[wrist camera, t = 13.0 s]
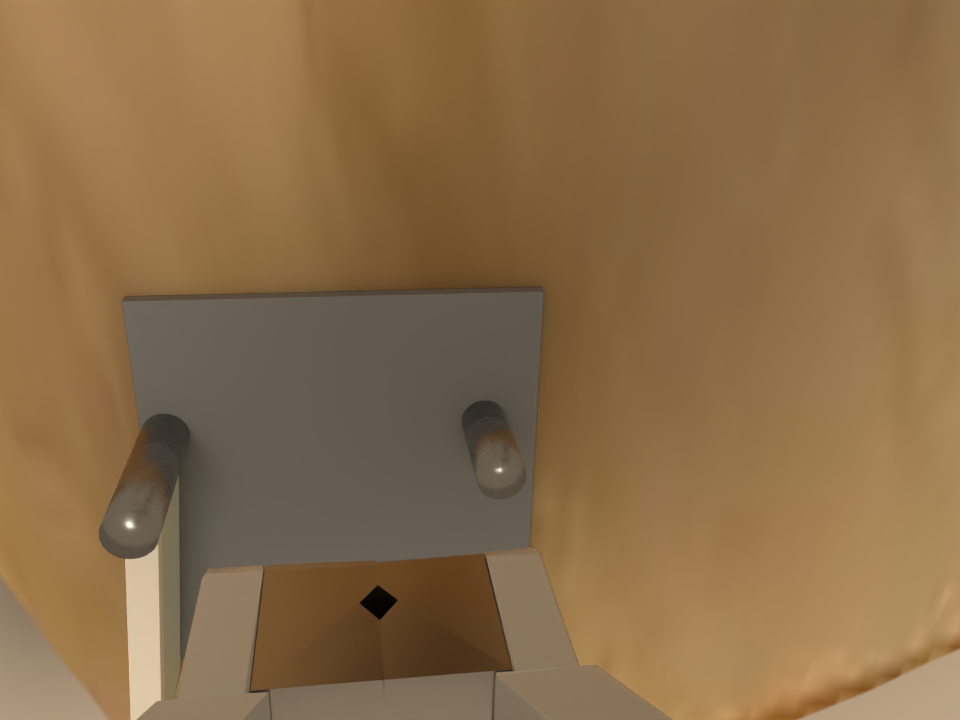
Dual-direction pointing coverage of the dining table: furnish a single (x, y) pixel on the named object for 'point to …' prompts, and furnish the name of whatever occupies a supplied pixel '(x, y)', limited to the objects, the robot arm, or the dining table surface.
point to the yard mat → (336, 421)
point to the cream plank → (155, 617)
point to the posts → (166, 439)
